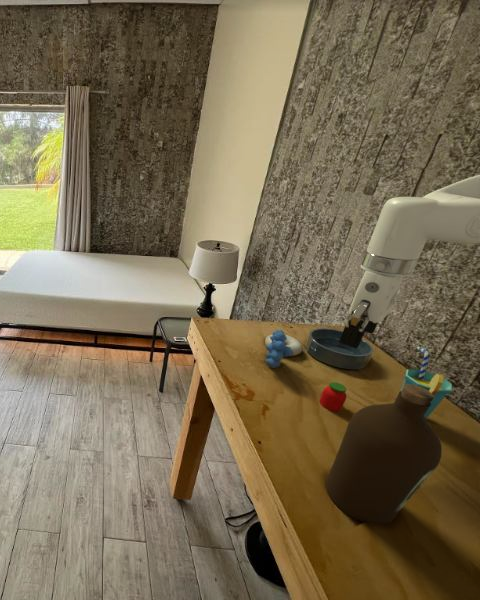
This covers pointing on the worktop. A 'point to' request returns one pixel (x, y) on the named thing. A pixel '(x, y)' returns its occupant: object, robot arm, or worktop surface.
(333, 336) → the bowl
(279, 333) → the grapes
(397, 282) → the robot arm
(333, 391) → the strawberry
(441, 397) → the cup
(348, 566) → the worktop surface
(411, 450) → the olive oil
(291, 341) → the donut
